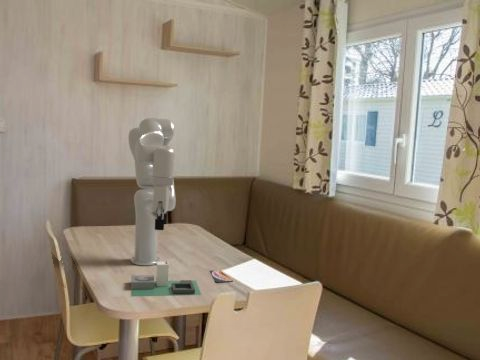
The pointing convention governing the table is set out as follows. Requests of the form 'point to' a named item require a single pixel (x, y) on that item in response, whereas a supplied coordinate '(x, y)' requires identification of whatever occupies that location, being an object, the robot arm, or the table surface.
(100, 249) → the table surface
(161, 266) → the plug
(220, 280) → the smartphone
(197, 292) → the board
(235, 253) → the table surface
